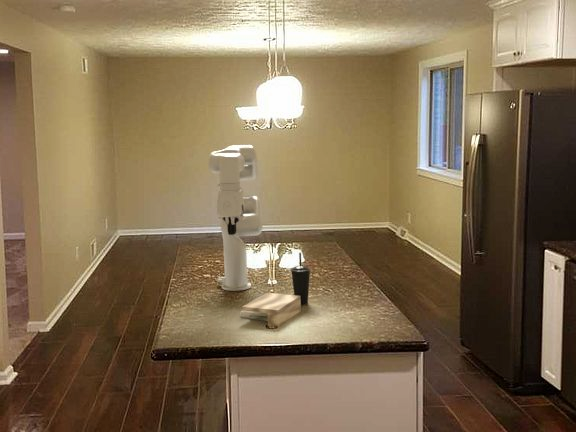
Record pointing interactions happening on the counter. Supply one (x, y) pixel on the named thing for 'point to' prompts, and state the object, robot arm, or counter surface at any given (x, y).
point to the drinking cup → (301, 281)
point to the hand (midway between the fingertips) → (232, 234)
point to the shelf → (274, 307)
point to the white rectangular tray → (252, 313)
